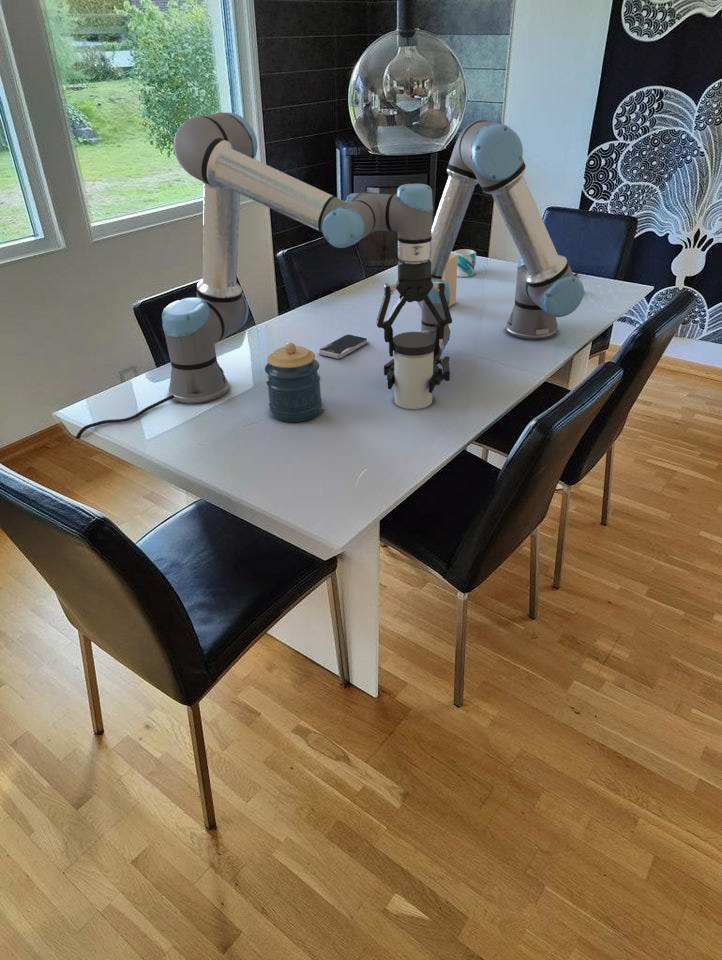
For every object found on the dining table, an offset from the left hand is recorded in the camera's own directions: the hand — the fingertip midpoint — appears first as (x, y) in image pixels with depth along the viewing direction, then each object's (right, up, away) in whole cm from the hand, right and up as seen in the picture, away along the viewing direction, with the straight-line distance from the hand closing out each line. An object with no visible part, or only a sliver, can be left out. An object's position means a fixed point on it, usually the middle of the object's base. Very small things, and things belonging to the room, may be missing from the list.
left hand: (413, 352), depth 162 cm
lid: (0, +3, -2) cm, 3 cm away
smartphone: (-18, +8, +38) cm, 42 cm away
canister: (-29, -14, +4) cm, 32 cm away
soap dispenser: (+15, +30, +70) cm, 77 cm away
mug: (+28, +50, +99) cm, 114 cm away
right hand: (-1, -8, 0) cm, 8 cm away
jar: (0, -11, +7) cm, 13 cm away
